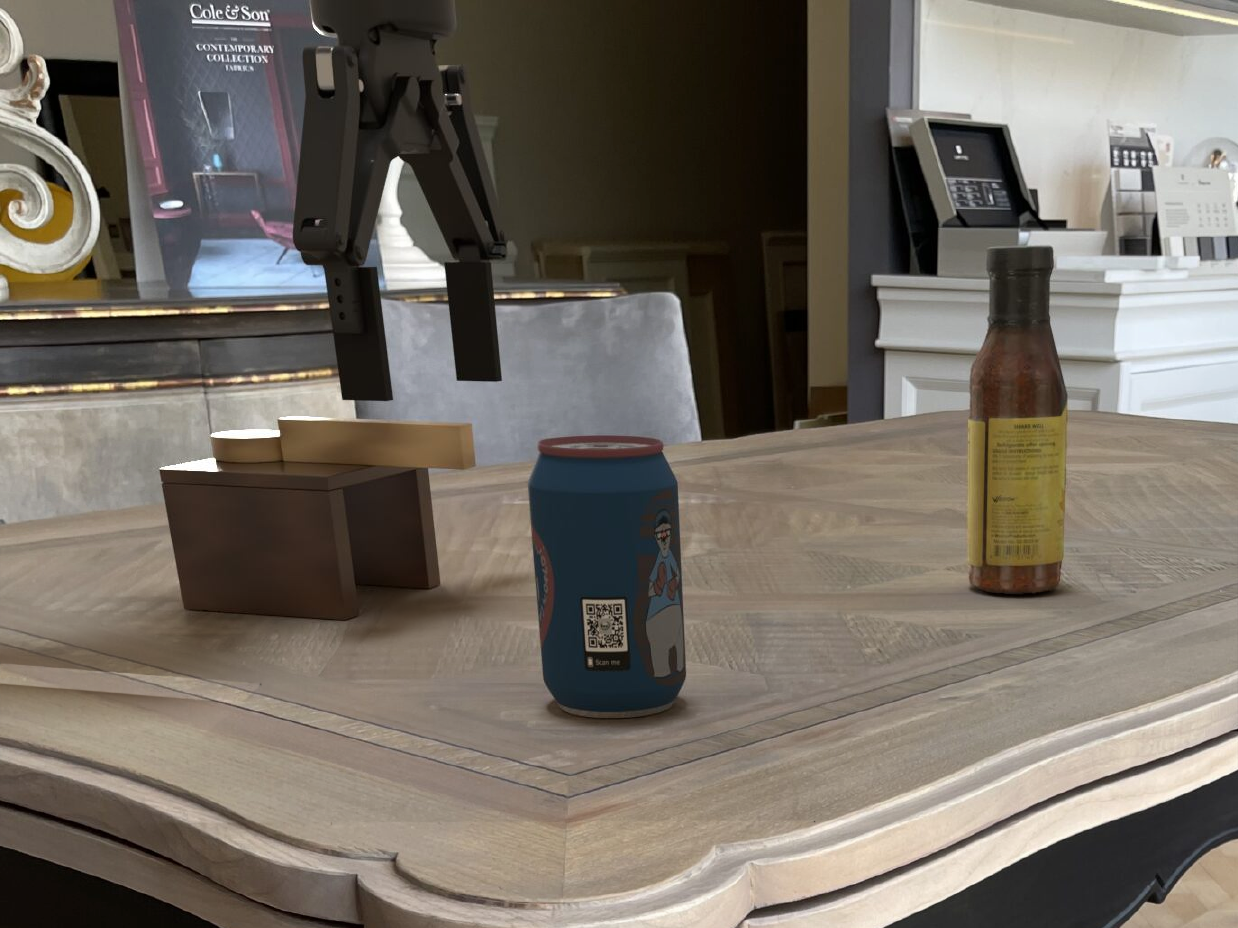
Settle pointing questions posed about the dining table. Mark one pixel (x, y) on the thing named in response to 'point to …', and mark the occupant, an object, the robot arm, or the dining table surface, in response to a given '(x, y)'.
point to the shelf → (297, 534)
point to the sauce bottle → (1017, 432)
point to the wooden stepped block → (352, 443)
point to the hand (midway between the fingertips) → (426, 390)
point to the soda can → (608, 574)
